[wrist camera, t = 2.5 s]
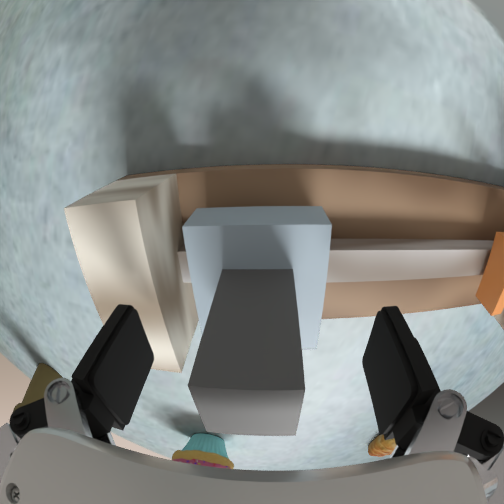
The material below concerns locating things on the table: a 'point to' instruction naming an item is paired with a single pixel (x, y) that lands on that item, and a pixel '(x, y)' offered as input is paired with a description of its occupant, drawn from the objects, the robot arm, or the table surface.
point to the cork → (38, 384)
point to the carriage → (255, 312)
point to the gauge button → (493, 278)
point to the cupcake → (204, 452)
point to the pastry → (381, 446)
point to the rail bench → (288, 194)
